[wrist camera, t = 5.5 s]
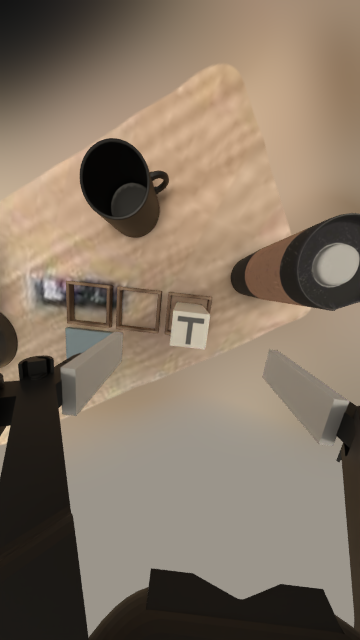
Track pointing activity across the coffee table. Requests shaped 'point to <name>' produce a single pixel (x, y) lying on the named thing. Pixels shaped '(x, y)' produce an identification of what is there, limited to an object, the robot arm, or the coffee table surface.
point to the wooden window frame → (119, 310)
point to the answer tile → (82, 339)
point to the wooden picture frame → (71, 304)
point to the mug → (121, 186)
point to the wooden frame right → (183, 296)
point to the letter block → (189, 325)
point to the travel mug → (307, 267)
